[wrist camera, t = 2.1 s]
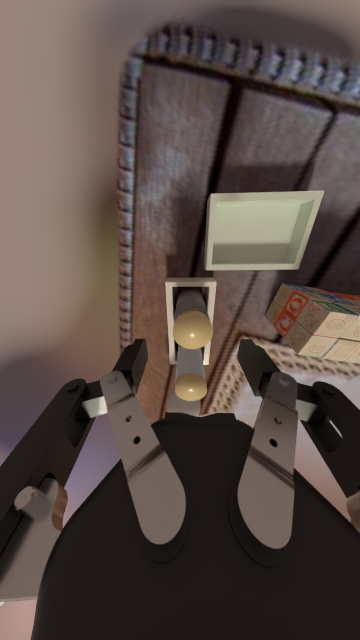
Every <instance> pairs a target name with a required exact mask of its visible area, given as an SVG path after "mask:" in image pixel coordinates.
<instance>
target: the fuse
mask: <svg viewBox="0 0 360 640" xmlns="http://www.w3.org/2000/svg"><path fill="white" fill-rule="evenodd" d="M175 393H176V395H177V396H178V397H179V398H181V399H183V400H187V401H196V400H199V399H201V398H203V397H204V396H205V395H206V393H207V386H206V380H205V373H204V366H203V359H202V352H201V348H198V349H187V348H184V347H182V346H180V345H179V344H178V356H177V370H176V383H175Z"/></svg>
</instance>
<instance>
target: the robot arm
mask: <svg viewBox="0 0 360 640" xmlns="http://www.w3.org/2000/svg"><path fill="white" fill-rule="evenodd" d="M147 358H148V353H147V346H146V340H145V339H135V341H134V343H133V345H128V346H127V347H126V348H125V349H124V351H123V353H122V354H121V356H120V358H119V360H118V361H117V363H116V365H115V367H114V369H113V370H112V371H111V372H109V373H107V374H105V375H104V376H103V377H102V378H101V380H100V381H96V382H92V383H86V381H85V380H84V379H75V380H72V381H70V382H68V383H67V384H65V385H64V386H63V387H62V388H61V389H60V391H59V392H58V393H57V394H56V396H55V397H54V398H53V400H52V401H51V402H50V404H49V405H48V406H47V407H46V409H45V410H44V411H43V413H42V414H41V415H40V417H39V418H38V419H37V420H36V421H35V423H34V424H33V425H32V427H31V428H30V429H29V430H28V432H27V433H26V434H25V436H24V437H23V438H22V440H21V441H20V442H19V444H17V446H16V447H15V448H14V450H13V451H12V452H11V453H10V455H9V456H8V457H7V459H6V460H5V461H4V463H3V464H2V465H1V466H0V606H1V605H2V604H4V602H9V601H21V600H33V599H37V605H36V612H35V619H34V625H33V631H32V636H31V640H360V410H359V409H358V408H357V407H356V406H355V405H354V404H353V403H352V402H351V401H350V400H349V399H348V398H347V397H346V396H345V395H344V394H343V393H342V392H341V391H340V390H339V389H337V388H336V387H334V386H332V385H330V384H328V383H325V382H320V381H317V382H314V384H313V385H312V386H308V385H304V384H300V383H297V382H296V380H295V379H294V378H293V377H291V376H290V375H288V374H286V373H283V372H281V371H280V370H279V368H278V367H277V366H276V364H275V363H274V362H273V361H272V359H270V357H269V355H267V353H266V351H265V350H264V349H263V348H261V347H260V346H258V345H255V343H254V342H253V341H252V340H251V339H241V341H240V346H239V350H238V361H239V363H240V365H241V368H242V370H243V372H244V374H245V376H246V378H247V380H248V382H249V385H250V387H251V389H252V391H253V393H254V395H255V396H261V397H262V399H263V400H262V403H261V406H260V409H259V412H258V415H257V419H256V422H255V425H254V428H252V427H250V426H249V425H247V424H245V423H244V422H241V421H239V420H236V418H235V415H234V413H215V414H212V415H208V416H205V417H196V416H193V415H189V414H186V413H180V412H166V413H165V418H163V419H161V420H158V421H156V422H155V423H153V424H152V425H150V423H149V421H148V419H147V417H146V415H145V413H144V411H143V410H142V408H141V406H140V404H139V402H138V400H137V398H136V396H135V394H137V391H138V388H139V384H140V381H141V378H142V375H143V372H144V368H145V365H146V362H147ZM105 413H108V414H109V418H110V421H111V425H112V428H113V432H114V435H115V438H116V442H117V446H118V449H119V452H120V456H121V459H120V460H119V461H118V463H117V464H116V465H115V466H114V467H113V468H112V470H111V471H110V472H109V473H108V474H107V476H106V477H105V478H104V479H103V480H102V481H101V482H100V484H99V485H98V486H97V487H96V488H95V489H94V490H93V492H92V493H91V494H90V495H89V496H88V497H87V499H86V500H85V501H84V502H83V503H82V504H81V506H80V507H79V508H78V509H77V510H76V511H75V513H74V514H73V515H72V516H71V518H70V519H69V520H68V522H67V523H66V525H65V526H64V528H63V524H62V523H63V516H64V512H65V509H66V506H67V500H68V496H67V492H66V490H65V489H64V486H65V484H66V482H67V480H68V478H69V476H70V473H71V471H72V469H73V467H74V464H75V462H76V460H77V458H78V456H79V453H80V451H81V449H82V447H83V444H84V442H85V440H86V438H87V436H88V433H89V431H90V429H91V427H92V424H93V422H94V420H95V418H96V416H99V415H102V414H105ZM298 419H300V421H301V423H302V424H303V426H304V427H305V429H306V431H307V433H308V434H309V436H310V438H311V439H312V441H313V443H314V444H315V446H316V448H317V449H318V451H319V452H320V454H321V456H322V458H323V459H324V461H325V463H326V464H327V466H328V467H329V469H330V471H331V473H332V474H333V476H334V477H335V479H336V481H337V482H338V484H339V486H340V487H341V489H342V491H343V492H344V494H345V496H346V497H347V502H346V506H347V510H348V513H349V515H350V517H351V519H350V521H351V523H350V522H349V521H348V520H347V519H346V518H345V517H344V516H343V515H342V514H341V513H340V512H339V511H338V510H337V509H336V508H335V507H334V506H333V505H332V504H331V503H330V502H329V501H328V500H327V499H326V498H325V497H323V496H322V495H321V494H320V493H319V492H318V491H317V490H316V489H315V488H314V487H313V486H312V485H311V484H310V483H309V482H308V481H307V480H306V479H305V478H304V477H303V476H302V475H301V474H300V473H299V472H298V471H297V470H296V469H295V468H294V458H295V447H296V435H297V423H298ZM330 420H331V421H332V422H333V424H334V425H335V426H336V427H337V429H338V430H339V431H340V433H341V435H342V438H343V439H342V438H341V436H340V435H339V434H338V433H337V431H336V430H335V428H334V427H333V426H332V424H331V423H330V422H329V421H330Z"/></svg>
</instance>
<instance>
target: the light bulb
mask: <svg viewBox="0 0 360 640" xmlns="http://www.w3.org/2000/svg"><path fill="white" fill-rule="evenodd" d="M167 411H168V412H180V413H186V414H189V415H193V416H196V417H198V415H199V412H200V399H199V400H196V401H187V400H183V399H181V398H179V397H178V396H177V395H176V393H175V388H174V389H173V391H172V392H171V393H170V395H169V397H168V400H167Z"/></svg>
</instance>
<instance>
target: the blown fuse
mask: <svg viewBox="0 0 360 640" xmlns="http://www.w3.org/2000/svg"><path fill="white" fill-rule="evenodd" d="M212 335H213V328H212V325H211V322H210V318H209V315H208V312H207V309H206V306H205V303H204V300H203V297H202V294H201V291H200V290H199V289H198V288H197V287H183V288H182V289H181V290H180V291H179V294H178V299H177V305H176V312H175V319H174V325H173V337H174V339H175V341H176V342H177V343H178V344H179V345H180V346H182V347H184V348H187V349H198V348H201V347H203V346H205V345H206V344H207V343H208V342H209V341H210V340H211V338H212Z"/></svg>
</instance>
